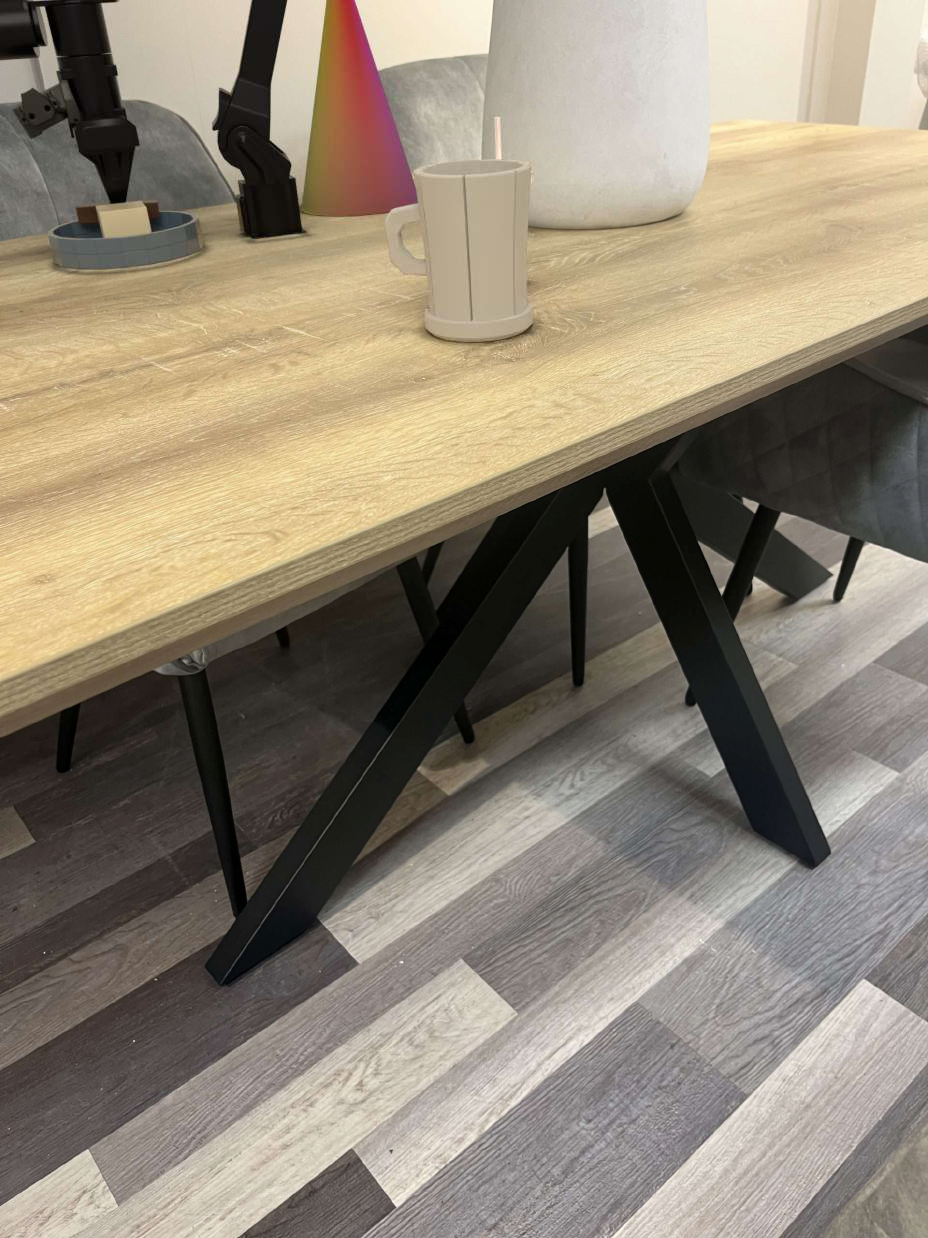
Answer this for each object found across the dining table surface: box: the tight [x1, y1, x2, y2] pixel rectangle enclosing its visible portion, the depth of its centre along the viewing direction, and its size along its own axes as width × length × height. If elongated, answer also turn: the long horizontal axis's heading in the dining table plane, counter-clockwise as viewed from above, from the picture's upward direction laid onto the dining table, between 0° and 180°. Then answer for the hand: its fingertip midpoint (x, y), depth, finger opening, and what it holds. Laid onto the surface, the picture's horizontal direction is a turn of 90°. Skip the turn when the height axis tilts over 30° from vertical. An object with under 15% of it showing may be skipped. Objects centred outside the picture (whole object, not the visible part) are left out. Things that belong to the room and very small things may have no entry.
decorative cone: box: [300, 0, 418, 217], centre depth 126 cm, size 16×16×30 cm
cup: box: [383, 158, 534, 343], centre depth 77 cm, size 10×9×12 cm
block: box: [96, 200, 151, 238], centre depth 110 cm, size 5×5×5 cm
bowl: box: [47, 210, 205, 271], centre depth 111 cm, size 16×16×4 cm
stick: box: [74, 199, 160, 224], centre depth 114 cm, size 9×2×2 cm, turn 111°
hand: (118, 210), depth 114 cm, fingers closed on stick, 2 cm apart
